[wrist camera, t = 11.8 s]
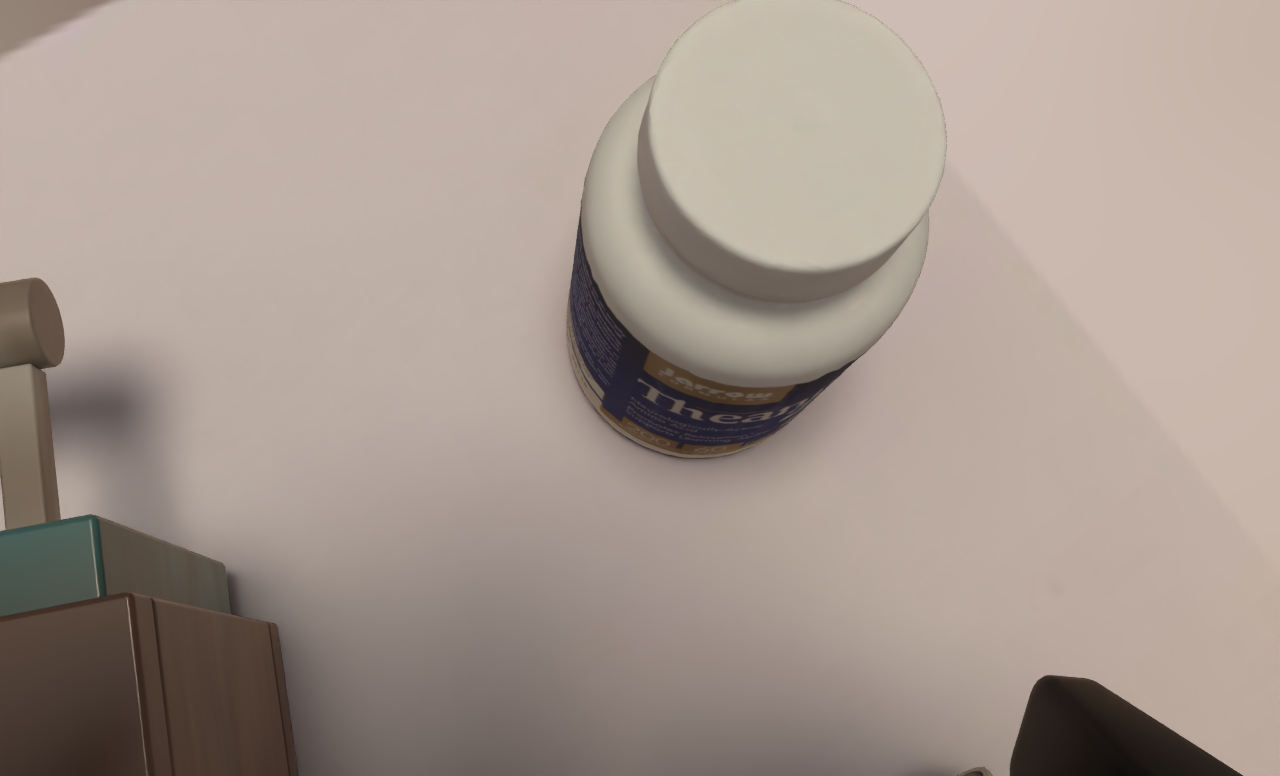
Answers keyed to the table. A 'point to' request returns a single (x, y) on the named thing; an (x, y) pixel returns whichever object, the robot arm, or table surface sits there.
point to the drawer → (35, 534)
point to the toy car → (976, 772)
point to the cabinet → (141, 692)
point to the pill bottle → (751, 223)
